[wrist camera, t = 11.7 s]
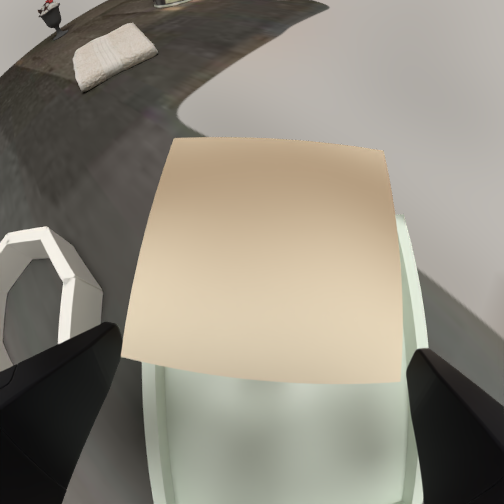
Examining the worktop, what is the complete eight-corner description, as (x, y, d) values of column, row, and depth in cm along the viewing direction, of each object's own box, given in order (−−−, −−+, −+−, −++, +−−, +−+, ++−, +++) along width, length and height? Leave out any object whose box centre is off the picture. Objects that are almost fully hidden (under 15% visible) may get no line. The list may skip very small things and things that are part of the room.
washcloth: (135, 30, 36) (130, 18, 34) (162, 57, 30) (157, 39, 27) (77, 61, 35) (71, 49, 32) (84, 98, 29) (74, 82, 26)
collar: (101, 418, 15) (72, 425, 12) (-3, 384, 15) (-30, 381, 12) (109, 241, 20) (85, 220, 16) (9, 251, 20) (-14, 237, 17)
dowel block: (305, 367, 15) (400, 382, 4) (225, 361, 15) (120, 356, 4) (311, 290, 16) (383, 150, 5) (234, 284, 17) (174, 138, 6)
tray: (405, 500, 11) (420, 513, 9) (171, 519, 12) (160, 535, 10) (390, 231, 19) (403, 214, 16) (162, 243, 19) (149, 227, 17)
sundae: (74, 28, 45) (58, -11, 31) (54, 42, 43) (36, 2, 29) (66, 29, 47) (50, -8, 33) (47, 42, 45) (30, 6, 31)
